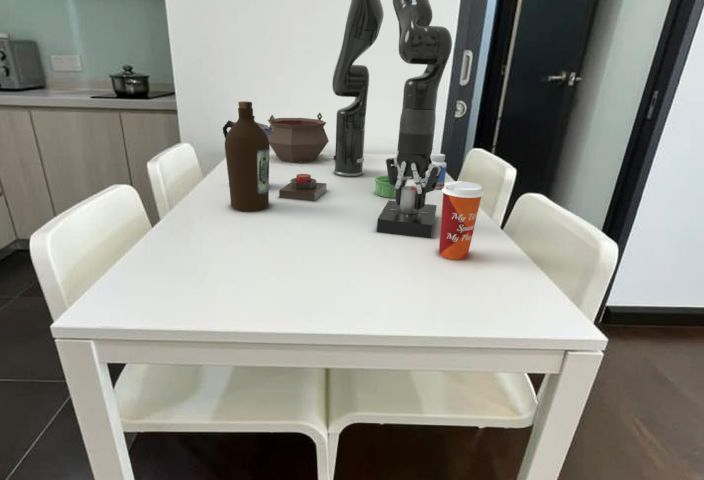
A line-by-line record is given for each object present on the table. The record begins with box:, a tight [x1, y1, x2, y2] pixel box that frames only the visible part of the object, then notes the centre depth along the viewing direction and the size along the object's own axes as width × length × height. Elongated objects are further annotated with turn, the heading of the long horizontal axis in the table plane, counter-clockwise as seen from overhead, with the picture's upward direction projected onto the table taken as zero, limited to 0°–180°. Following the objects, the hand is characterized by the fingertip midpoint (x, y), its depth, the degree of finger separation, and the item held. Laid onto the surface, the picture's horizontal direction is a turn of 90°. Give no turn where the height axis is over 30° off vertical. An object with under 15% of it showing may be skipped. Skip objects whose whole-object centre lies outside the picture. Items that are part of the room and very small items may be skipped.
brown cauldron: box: [267, 112, 330, 164], centre depth 172 cm, size 24×24×16 cm
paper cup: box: [438, 180, 485, 261], centre depth 90 cm, size 8×8×14 cm
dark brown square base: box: [278, 177, 327, 202], centre depth 129 cm, size 12×10×4 cm
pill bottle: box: [426, 153, 447, 190], centre depth 141 cm, size 6×5×10 cm
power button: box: [295, 173, 312, 182], centre depth 128 cm, size 4×4×2 cm
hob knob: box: [399, 185, 419, 214], centre depth 107 cm, size 4×4×6 cm
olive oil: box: [224, 100, 271, 212], centre depth 113 cm, size 11×11×25 cm
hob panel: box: [376, 199, 438, 239], centre depth 109 cm, size 16×12×3 cm
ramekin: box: [374, 175, 396, 199], centre depth 132 cm, size 9×9×4 cm
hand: (409, 206), depth 107 cm, fingers closed on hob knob, 4 cm apart
